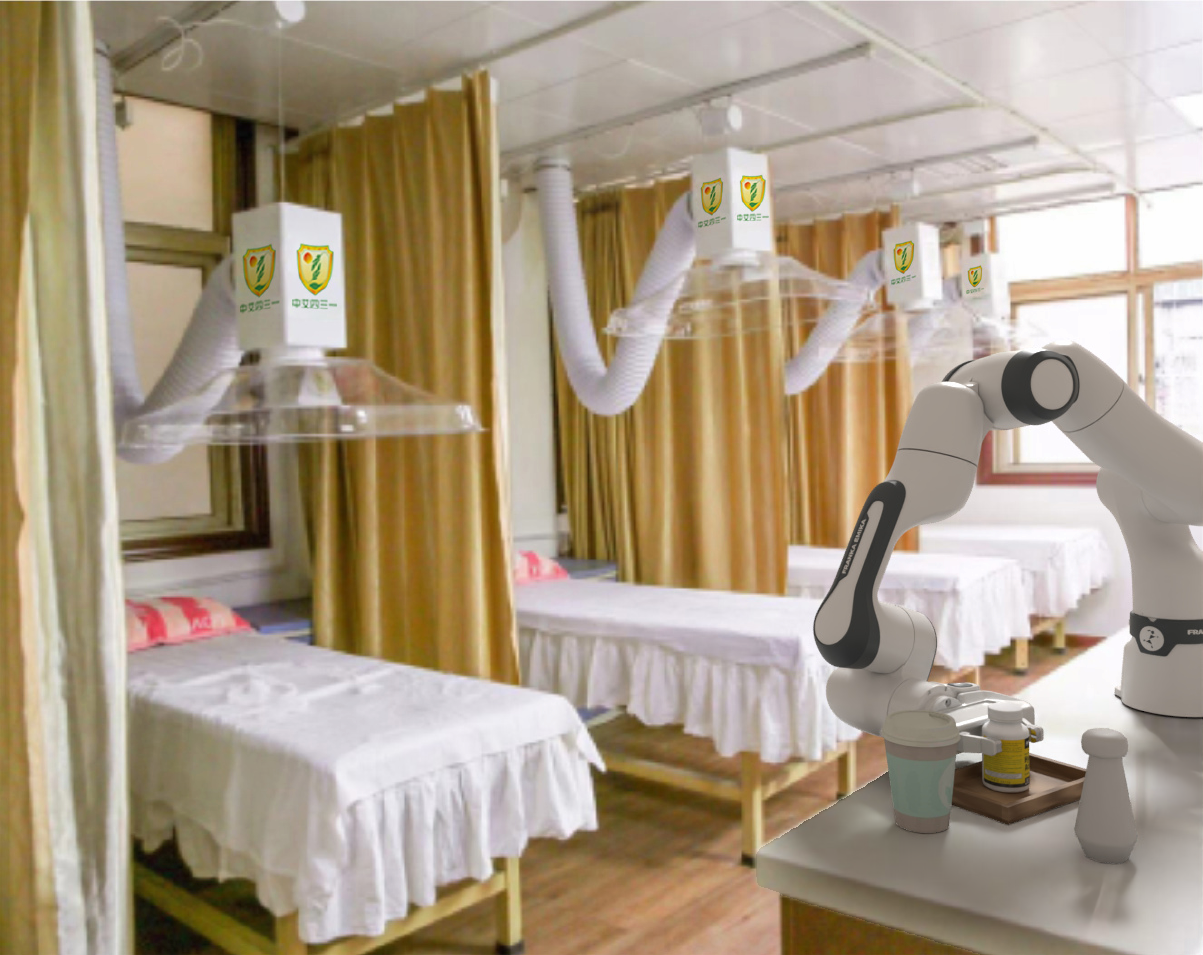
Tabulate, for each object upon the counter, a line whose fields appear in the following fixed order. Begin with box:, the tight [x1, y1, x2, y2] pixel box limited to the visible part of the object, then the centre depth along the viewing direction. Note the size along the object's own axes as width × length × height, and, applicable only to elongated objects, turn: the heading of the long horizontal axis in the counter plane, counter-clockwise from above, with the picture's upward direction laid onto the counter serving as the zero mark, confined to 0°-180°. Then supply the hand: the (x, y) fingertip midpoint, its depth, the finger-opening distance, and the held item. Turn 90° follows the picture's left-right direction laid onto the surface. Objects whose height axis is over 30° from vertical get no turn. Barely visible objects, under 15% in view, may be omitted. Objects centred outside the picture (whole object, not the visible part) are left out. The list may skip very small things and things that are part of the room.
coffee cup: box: [881, 710, 961, 834], centre depth 118 cm, size 8×8×12 cm
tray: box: [951, 752, 1087, 826], centre depth 127 cm, size 18×12×2 cm, turn 122°
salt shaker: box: [1073, 727, 1138, 865], centre depth 108 cm, size 6×6×13 cm
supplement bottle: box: [981, 703, 1030, 793], centre depth 127 cm, size 5×5×10 cm
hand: (1019, 741), depth 126 cm, fingers open, 6 cm apart
